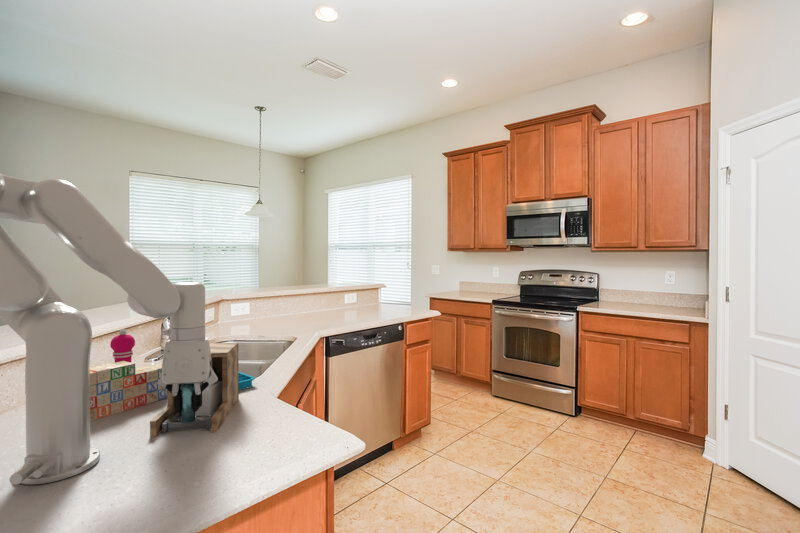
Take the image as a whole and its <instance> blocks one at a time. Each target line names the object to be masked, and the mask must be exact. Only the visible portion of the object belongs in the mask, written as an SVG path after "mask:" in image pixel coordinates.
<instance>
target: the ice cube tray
mask: <svg viewBox="0 0 800 533" xmlns="http://www.w3.org/2000/svg"><path fill="white" fill-rule="evenodd" d="M238 374H239V391H241V390H245V389H248V388H247V387H249V388H251V387H253V381H254V380H256V377H255V376H253V375H249V374H246V373H243V372H241V371H238ZM244 388H245V389H244ZM240 389H241V390H240Z"/></svg>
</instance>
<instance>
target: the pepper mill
mask: <svg viewBox="0 0 800 533" xmlns="http://www.w3.org/2000/svg"><path fill="white" fill-rule="evenodd" d="M109 345H110V348H111V350H113V352H112V358H113V359H114V363H115V362H120V361H126V362H131V363H132V356H133V355H134V353H133V352H134V350H133V349H134V348H135V345H136V340H135V337H133V336H132V335H130V334H127V330H126V329H124V328H122V329H120V330H119V331H118V335H115V336H114V337H112V339H111V340H110V344H109Z"/></svg>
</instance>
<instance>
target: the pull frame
mask: <svg viewBox="0 0 800 533" xmlns="http://www.w3.org/2000/svg"><path fill="white" fill-rule="evenodd" d="M194 394H195V386H194V383H189V384H181V411H180V412H179V413H176V411H175V412H174V413H173V414H172V415H171V416H170V417H169V418H168V419H167V420H166V421H165V422H164V423H163V424H162V430H161V432H162V433H167V432H175V431H176V432H177V431H178V432H179V431H191V430H193V431H194V430H195V431H196V430H211V418H212V416H213V415H214V414H215V412H216V411H217V410H218V408H219V407H220V405H221V404H222V402H221V403H220V404H219V405H218V407H217V408H216V409H215V411H214V412H213V413H212V415H211V416H208V417H209V418H198V419H197V418H196V416H195V412H194V411H193V395H194ZM180 418H181V419H180Z"/></svg>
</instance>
